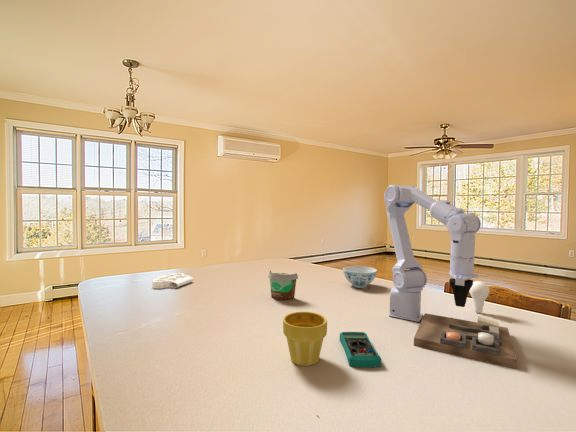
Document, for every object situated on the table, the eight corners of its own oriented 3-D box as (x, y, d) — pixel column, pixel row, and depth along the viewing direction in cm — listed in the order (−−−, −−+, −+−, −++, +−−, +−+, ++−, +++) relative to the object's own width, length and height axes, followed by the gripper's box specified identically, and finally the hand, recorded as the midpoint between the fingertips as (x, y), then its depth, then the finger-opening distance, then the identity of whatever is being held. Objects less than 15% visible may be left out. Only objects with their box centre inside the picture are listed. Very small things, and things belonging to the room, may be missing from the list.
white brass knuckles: (172, 291, 130) (144, 288, 135) (197, 281, 148) (171, 279, 152) (172, 283, 130) (144, 280, 135) (197, 274, 147) (171, 272, 152)
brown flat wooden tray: (413, 345, 82) (414, 332, 82) (424, 319, 101) (425, 308, 101) (516, 368, 71) (517, 353, 71) (507, 334, 90) (507, 322, 90)
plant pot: (293, 374, 67) (294, 330, 67) (276, 353, 77) (276, 314, 76) (334, 365, 71) (335, 323, 71) (313, 346, 81) (313, 309, 80)
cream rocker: (477, 324, 89) (478, 319, 88) (477, 320, 92) (478, 316, 92) (498, 331, 86) (499, 326, 86) (497, 327, 89) (498, 322, 89)
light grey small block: (489, 340, 80) (489, 331, 80) (488, 334, 84) (489, 326, 84) (498, 342, 79) (499, 333, 79) (497, 336, 83) (498, 327, 83)
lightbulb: (491, 316, 104) (493, 284, 104) (471, 315, 106) (472, 282, 105) (484, 310, 110) (485, 279, 110) (465, 309, 112) (466, 278, 111)
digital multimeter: (349, 369, 70) (350, 357, 70) (339, 340, 85) (339, 330, 85) (382, 370, 70) (382, 357, 70) (365, 341, 85) (366, 330, 85)
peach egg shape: (445, 341, 79) (446, 334, 79) (446, 337, 82) (446, 330, 82) (460, 344, 78) (460, 337, 78) (460, 340, 81) (460, 333, 81)
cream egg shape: (478, 343, 76) (478, 335, 76) (477, 338, 79) (478, 331, 79) (493, 346, 74) (494, 338, 74) (493, 341, 77) (493, 334, 77)
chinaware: (351, 280, 152) (351, 264, 152) (381, 285, 143) (381, 268, 143) (337, 286, 140) (337, 269, 140) (369, 292, 131) (369, 274, 131)
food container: (262, 298, 120) (262, 273, 120) (269, 294, 126) (269, 270, 126) (292, 303, 116) (292, 276, 115) (297, 298, 122) (298, 273, 121)
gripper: (479, 262, 77) (476, 316, 78) (479, 254, 89) (477, 301, 90) (447, 259, 81) (445, 311, 81) (451, 252, 93) (449, 297, 94)
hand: (460, 305), depth 86 cm, fingers closed
